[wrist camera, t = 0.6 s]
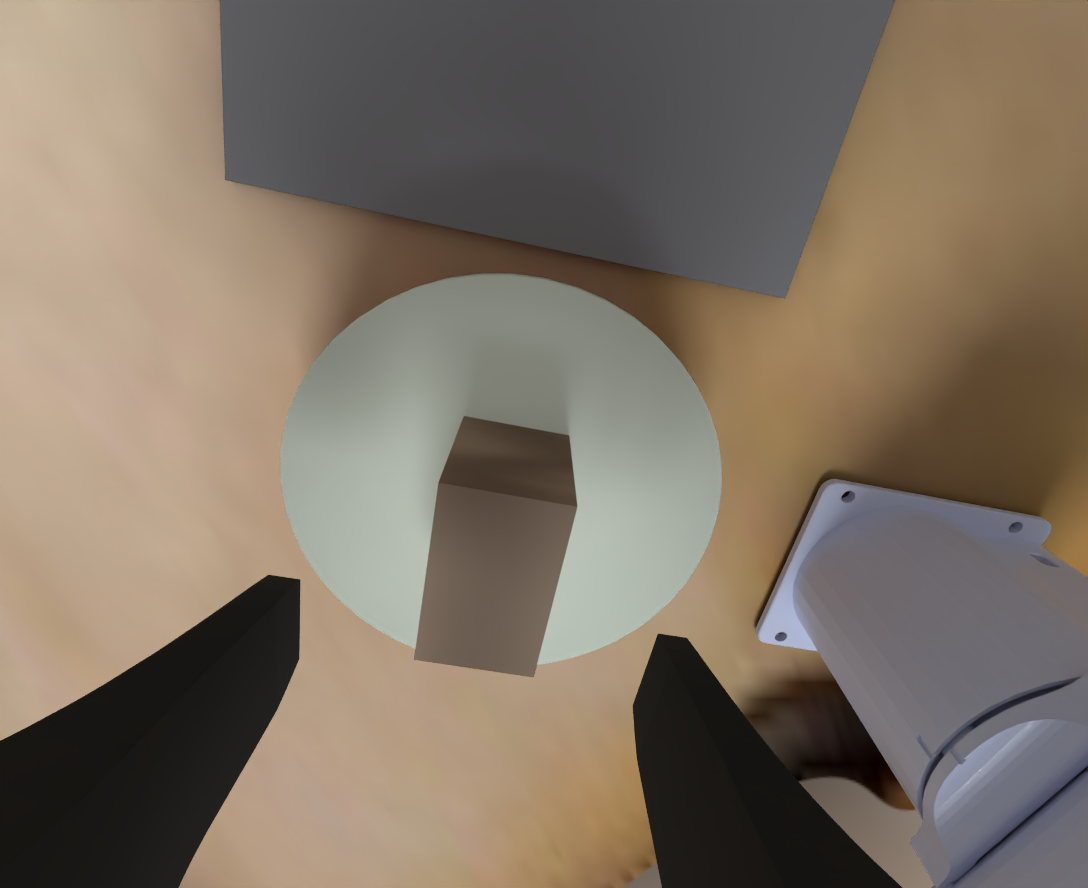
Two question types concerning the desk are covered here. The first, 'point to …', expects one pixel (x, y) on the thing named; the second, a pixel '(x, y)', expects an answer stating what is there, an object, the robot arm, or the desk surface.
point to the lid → (500, 471)
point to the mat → (559, 119)
